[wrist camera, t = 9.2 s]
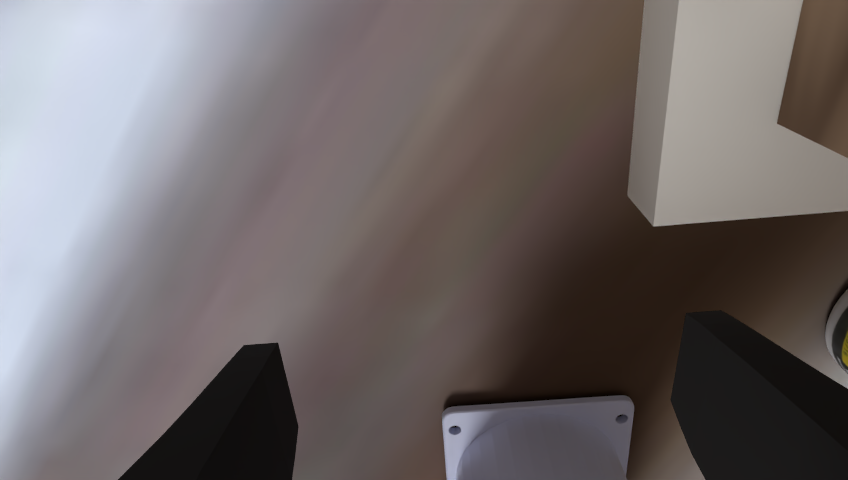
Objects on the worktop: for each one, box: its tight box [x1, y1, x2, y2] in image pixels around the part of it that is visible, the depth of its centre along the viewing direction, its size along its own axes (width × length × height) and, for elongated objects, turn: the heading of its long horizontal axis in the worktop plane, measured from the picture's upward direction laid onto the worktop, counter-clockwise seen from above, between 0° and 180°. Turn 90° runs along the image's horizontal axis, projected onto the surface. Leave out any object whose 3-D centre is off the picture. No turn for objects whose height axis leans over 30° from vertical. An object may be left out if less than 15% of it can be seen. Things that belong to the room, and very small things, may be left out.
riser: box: [627, 0, 848, 227], centre depth 17 cm, size 10×10×3 cm
